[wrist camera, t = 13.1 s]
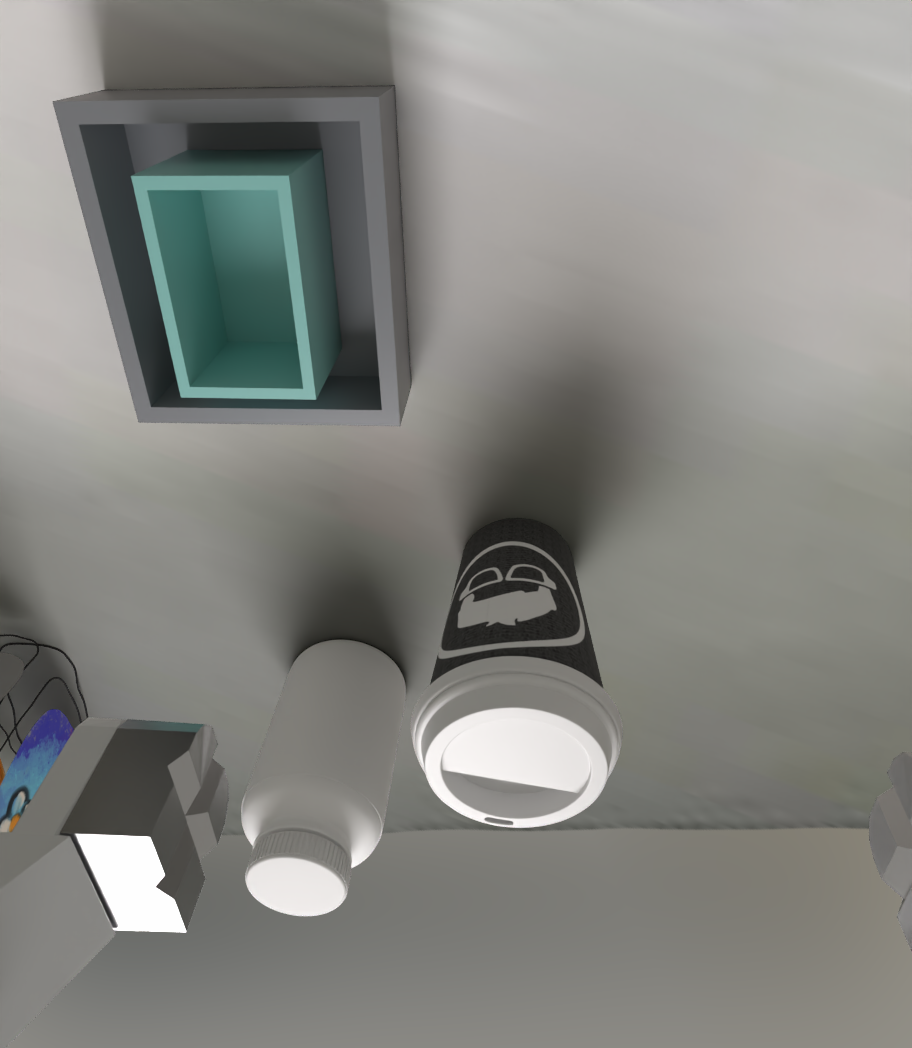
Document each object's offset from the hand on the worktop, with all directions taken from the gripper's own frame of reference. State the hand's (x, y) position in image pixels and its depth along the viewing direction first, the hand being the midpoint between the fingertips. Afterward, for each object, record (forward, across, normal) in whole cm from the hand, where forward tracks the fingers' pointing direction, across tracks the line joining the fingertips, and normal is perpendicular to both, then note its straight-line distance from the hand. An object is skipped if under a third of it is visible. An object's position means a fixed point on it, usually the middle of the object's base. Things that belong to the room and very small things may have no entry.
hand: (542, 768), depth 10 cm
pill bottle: (+31, +11, +30) cm, 45 cm away
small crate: (+30, +12, +2) cm, 33 cm away
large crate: (+31, +12, +2) cm, 33 cm away
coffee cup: (+31, 0, +20) cm, 37 cm away
